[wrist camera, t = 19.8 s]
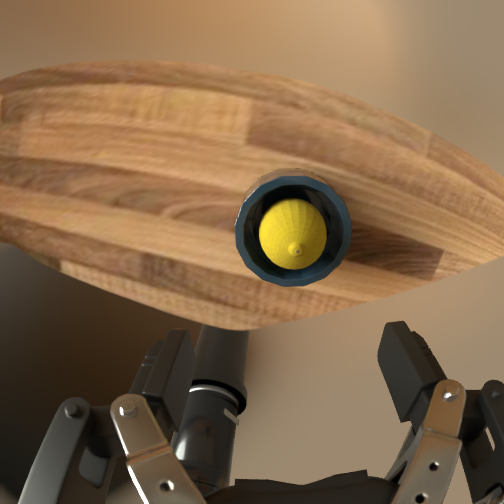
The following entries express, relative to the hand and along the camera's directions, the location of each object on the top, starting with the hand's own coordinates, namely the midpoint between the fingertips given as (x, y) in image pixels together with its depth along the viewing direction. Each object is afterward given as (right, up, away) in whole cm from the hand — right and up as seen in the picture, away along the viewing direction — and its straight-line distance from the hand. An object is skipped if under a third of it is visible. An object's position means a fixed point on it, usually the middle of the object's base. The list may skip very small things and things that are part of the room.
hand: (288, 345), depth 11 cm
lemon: (+2, +7, +16) cm, 18 cm away
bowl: (+2, +7, +17) cm, 18 cm away
